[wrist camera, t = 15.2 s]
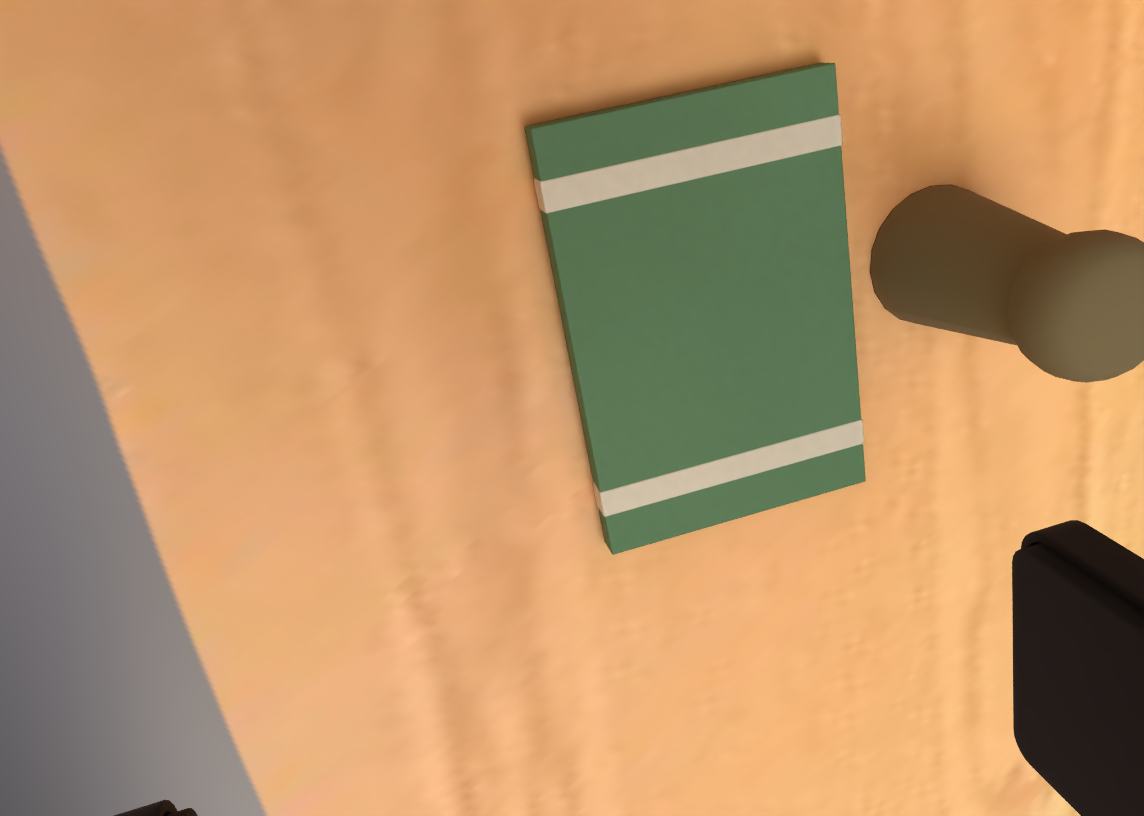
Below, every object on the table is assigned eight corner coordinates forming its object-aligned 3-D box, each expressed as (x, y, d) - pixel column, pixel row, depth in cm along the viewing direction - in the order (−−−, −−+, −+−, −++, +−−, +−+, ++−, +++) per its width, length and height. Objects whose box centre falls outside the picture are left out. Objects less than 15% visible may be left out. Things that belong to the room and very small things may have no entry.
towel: (522, 126, 36) (529, 128, 35) (822, 62, 38) (837, 62, 36) (604, 543, 42) (611, 556, 41) (854, 470, 44) (867, 481, 43)
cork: (971, 157, 40) (1186, 190, 30) (1012, 278, 43) (1223, 346, 33) (850, 232, 40) (1025, 290, 30) (898, 349, 43) (1075, 439, 33)
